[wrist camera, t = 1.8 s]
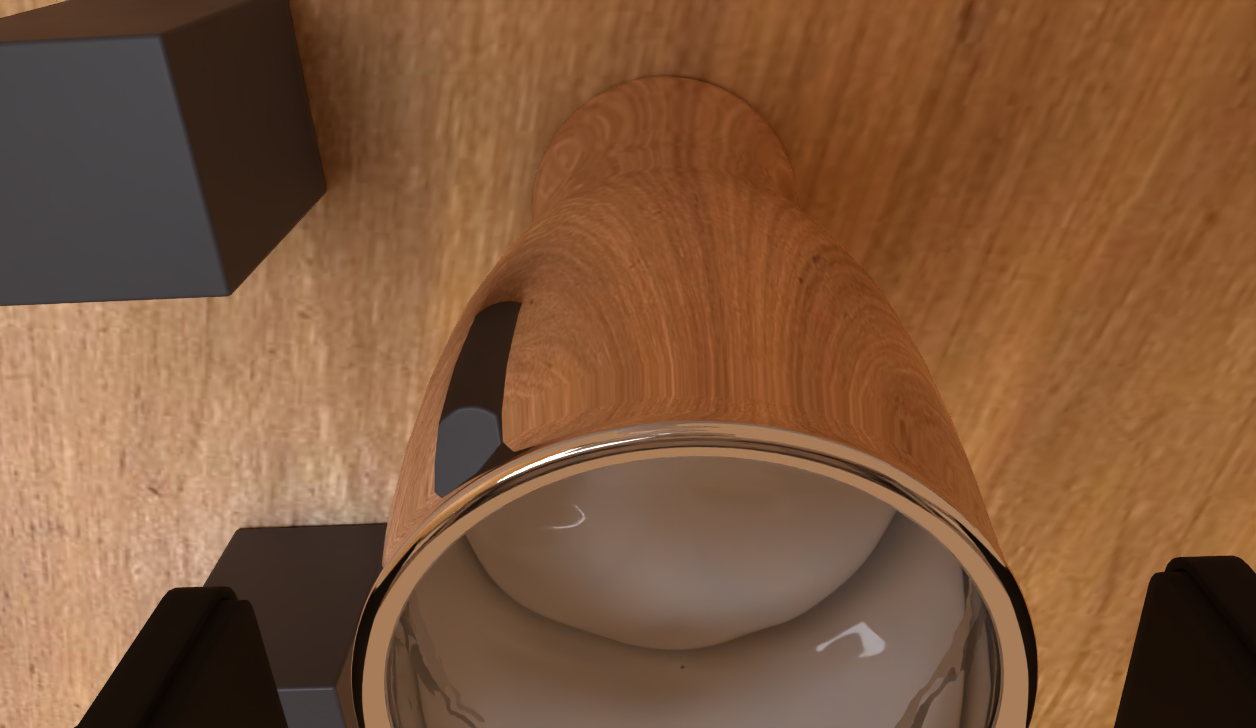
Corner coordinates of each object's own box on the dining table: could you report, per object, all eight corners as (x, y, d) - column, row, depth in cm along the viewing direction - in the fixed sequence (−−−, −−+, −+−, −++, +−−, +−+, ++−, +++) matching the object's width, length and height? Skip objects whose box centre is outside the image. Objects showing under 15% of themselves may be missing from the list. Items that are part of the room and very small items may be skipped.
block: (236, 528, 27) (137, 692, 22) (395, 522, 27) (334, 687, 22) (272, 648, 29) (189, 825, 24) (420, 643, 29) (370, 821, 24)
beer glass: (460, 249, 23) (212, 787, 10) (617, -13, 20) (568, 244, 7) (701, 389, 25) (766, 1009, 12) (876, 165, 22) (1231, 641, 9)
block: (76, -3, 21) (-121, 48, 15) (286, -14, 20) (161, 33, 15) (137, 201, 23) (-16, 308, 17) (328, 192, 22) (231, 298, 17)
